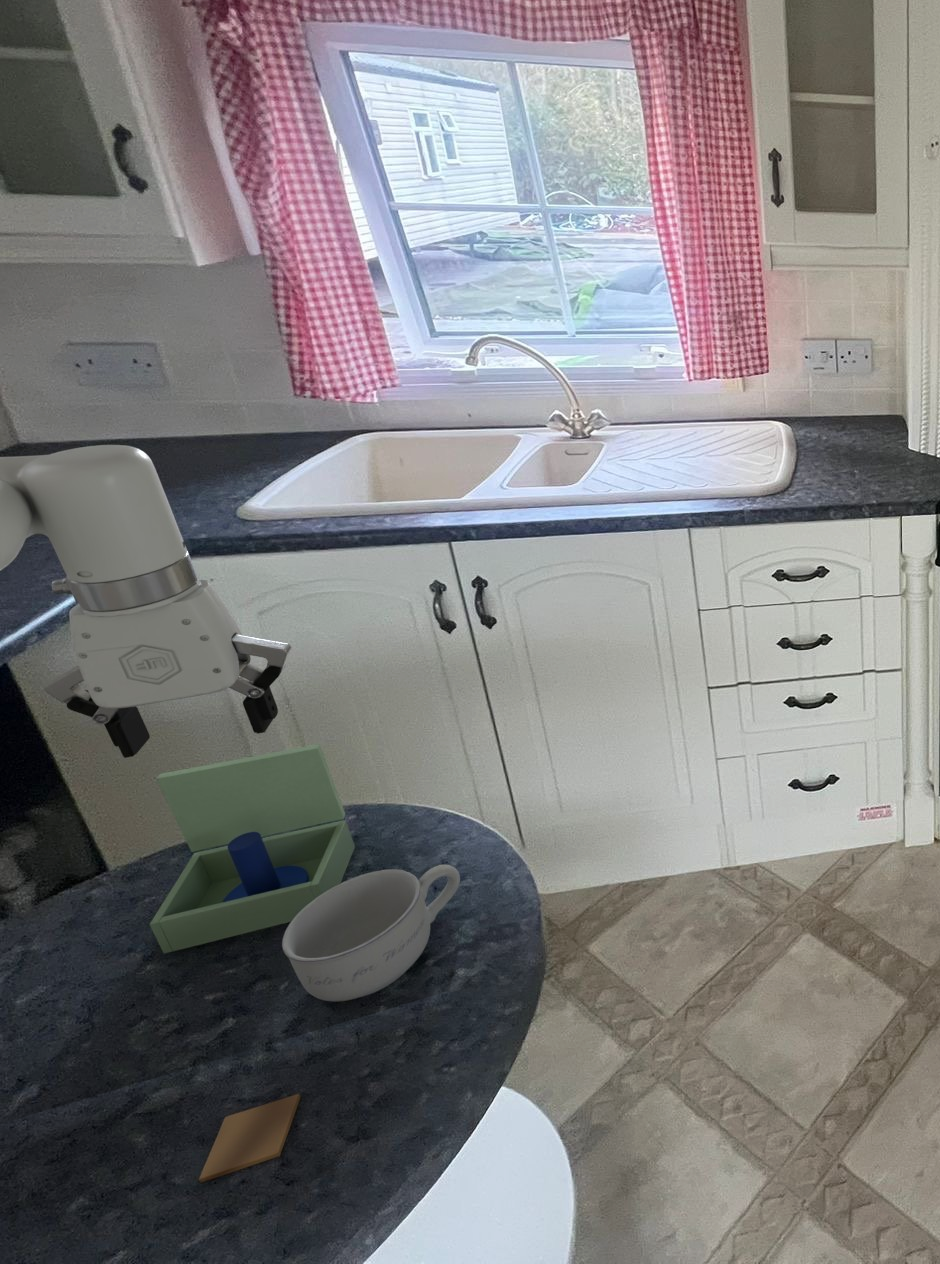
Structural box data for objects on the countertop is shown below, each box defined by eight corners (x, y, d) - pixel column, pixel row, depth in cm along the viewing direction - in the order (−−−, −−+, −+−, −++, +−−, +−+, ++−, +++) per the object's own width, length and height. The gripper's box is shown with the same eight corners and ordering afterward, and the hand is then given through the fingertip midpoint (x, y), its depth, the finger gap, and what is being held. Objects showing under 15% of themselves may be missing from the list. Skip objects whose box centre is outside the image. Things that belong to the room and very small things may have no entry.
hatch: (317, 748, 90) (319, 743, 90) (155, 778, 84) (159, 773, 85) (343, 819, 94) (345, 814, 94) (191, 852, 89) (194, 846, 89)
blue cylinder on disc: (209, 933, 85) (183, 876, 82) (237, 880, 91) (214, 826, 88) (296, 911, 87) (274, 855, 84) (318, 862, 93) (298, 808, 91)
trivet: (200, 1183, 65) (198, 1179, 65) (226, 1120, 69) (225, 1116, 69) (280, 1156, 67) (278, 1152, 67) (301, 1096, 71) (299, 1093, 71)
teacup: (307, 1042, 75) (282, 981, 72) (302, 960, 83) (278, 902, 80) (483, 957, 84) (466, 899, 81) (463, 890, 92) (448, 834, 89)
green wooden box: (330, 916, 88) (318, 883, 86) (165, 958, 83) (149, 924, 81) (356, 850, 96) (345, 819, 94) (208, 885, 91) (194, 852, 89)
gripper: (-26, 619, 67) (60, 784, 74) (243, 585, 74) (300, 739, 80) (31, 579, 73) (106, 733, 80) (274, 550, 80) (325, 695, 86)
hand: (203, 736), depth 80 cm, fingers open, 9 cm apart
